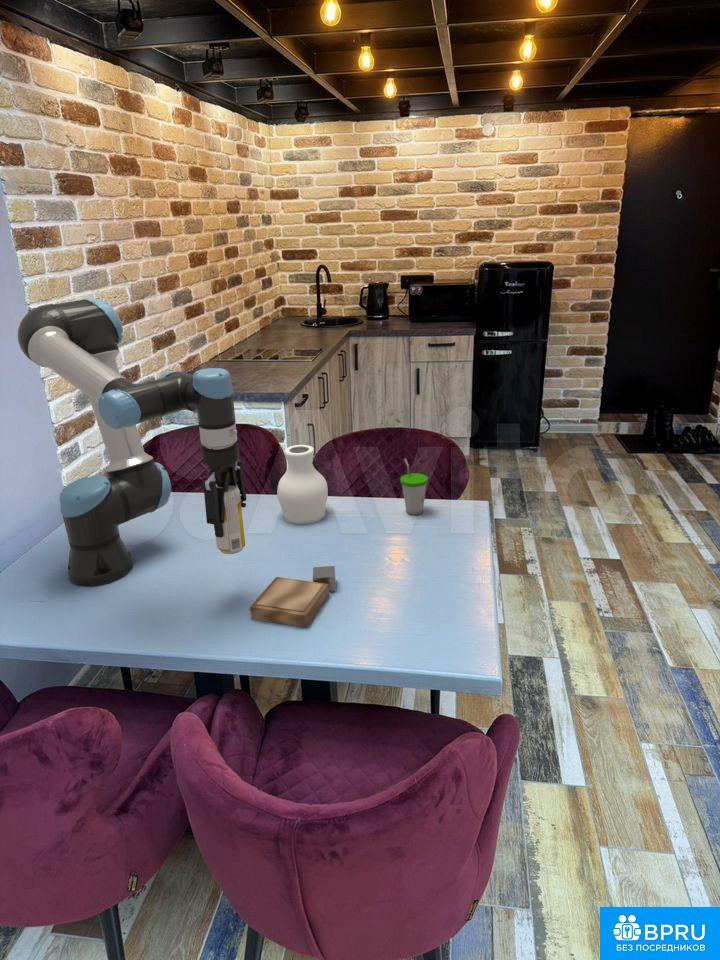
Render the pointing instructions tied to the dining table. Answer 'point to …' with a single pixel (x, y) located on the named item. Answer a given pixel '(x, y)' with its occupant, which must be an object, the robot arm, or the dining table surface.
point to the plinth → (290, 602)
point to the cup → (414, 491)
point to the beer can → (233, 520)
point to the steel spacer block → (325, 576)
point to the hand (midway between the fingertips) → (230, 540)
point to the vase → (302, 487)
